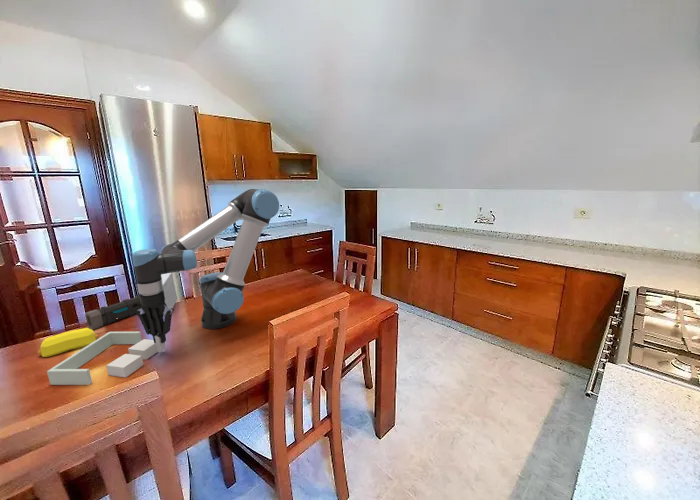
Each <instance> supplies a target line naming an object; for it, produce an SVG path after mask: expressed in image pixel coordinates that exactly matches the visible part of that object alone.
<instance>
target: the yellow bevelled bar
mask: <svg viewBox="0 0 700 500" xmlns="http://www.w3.org/2000/svg"><path fill="white" fill-rule="evenodd" d="M99 338H100V335H98V334H97V333H95V331H94V330H91V329H89V327H84V328H83V327H82V328H80V329H79V328H78V329H72V330H69V331H64V332H61V333H58V334H55V335H52V336H49V337H46V338H44V339H43V341H42V342H41V345H40V348H39V349H38V351H37V355H39V356H41V357H42V358H49V357H52V356H56V355H60V354H63V353H64V352H65V353H66V352H68V351H70V350H75V349H82V348H84V347H86V346H88V345H89V344H91V343H92V342H94V341H95V340H97V339H99Z"/></svg>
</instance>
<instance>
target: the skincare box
mask: <svg viewBox="0 0 700 500" xmlns="http://www.w3.org/2000/svg"><path fill="white" fill-rule="evenodd" d="M161 277H162V283H163V291H164V295H165V304H166V305H167V307H168V308H170V309H171V308H173V309H174V307H175V304H176V302H177V301H178V295H177V291H176V286H175V280H174V276H173V273H167V274H161ZM163 313H164V316H165V311H164V312H163Z"/></svg>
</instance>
